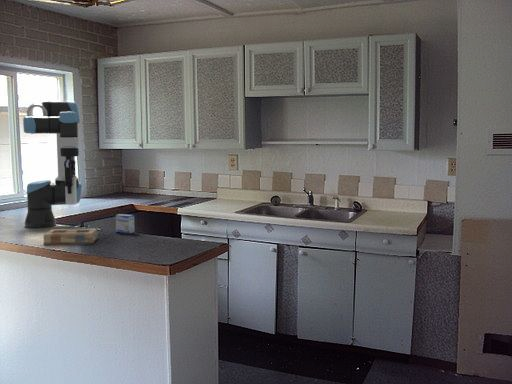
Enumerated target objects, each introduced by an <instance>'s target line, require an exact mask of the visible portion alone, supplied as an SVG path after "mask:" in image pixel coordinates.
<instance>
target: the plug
mask: <svg viewBox="0 0 512 384" xmlns="http://www.w3.org/2000/svg"><path fill="white" fill-rule="evenodd" d="M75 176H76V173H75V174H72V184H73V185H72V186H73V198H74V201H67V191H66V186H65V193H66V204H65V206H67V205H77V204H78V203H77V190H76V177H77V176H76V177H75Z"/></svg>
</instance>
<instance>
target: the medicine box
mask: <svg viewBox="0 0 512 384" xmlns="http://www.w3.org/2000/svg"><path fill="white" fill-rule="evenodd" d="M116 232H123V233H122V234H129V233H130V234H133V233H135V214H125V213H124V214H123V213H121V214H120V213H119V214H118V213H117V214H116V215H115V233H116Z"/></svg>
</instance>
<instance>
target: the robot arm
mask: <svg viewBox="0 0 512 384" xmlns="http://www.w3.org/2000/svg"><path fill="white" fill-rule="evenodd" d="M79 115H80V113H79V109H78V105H77V102H75V101H74V100H73V101H71V100H49V99H48V100H47V99H46V100H45V99H44V100H39V101H36V102H33V103H32V104H30V105H29V106H28V108H27V110H26V116H23V119H22V121H23V123H22V124H23V132H24V133H25V134H31V135H34V134H35V135H37V134H48V135H49V134H53V135H54V134H56V152H57V156H56V157H57V176H56V178H55V179H54V182H52V181H51V180H50V179H46V180H38V181H33V182H30V183H28V184H27V186H26V197H27V198H26V199H27V200H26V202H27V214H26V216H25V220H24V227H25V228H29V229H30V228H31V229H35V228H36V229H38V228H39V229H41V228H49V227H53V226H54V227H55V226H57V220H56V218H55V215H54V213H53V208H52V206H61V205H62V206H63V205H64V206H66V193H65V186H66V191H67V201H74V198H73V186H72V185H73V184H72V174H75V177H76V190H77V204H79V203H80V201H81V195H82V185H83V184H82V182H81V181H80V180H79V178H78V177H77V176H76V158H75V157H79V156H80V155H79V154H80V153H79V152H80V151H79V145H80V144H79V129H78V127H79V126H78V125H79V124H80V116H79Z"/></svg>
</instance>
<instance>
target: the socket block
mask: <svg viewBox="0 0 512 384" xmlns="http://www.w3.org/2000/svg"><path fill="white" fill-rule="evenodd" d="M97 239H98V228H97V227H96V228H93V227H92V228H52V229H50V230H48V231H47V232H46V233H44V234H43V246H61V245H62V246H63V245H65V246H67V245H92V244H94V243H95V241H96V240H97Z"/></svg>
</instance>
